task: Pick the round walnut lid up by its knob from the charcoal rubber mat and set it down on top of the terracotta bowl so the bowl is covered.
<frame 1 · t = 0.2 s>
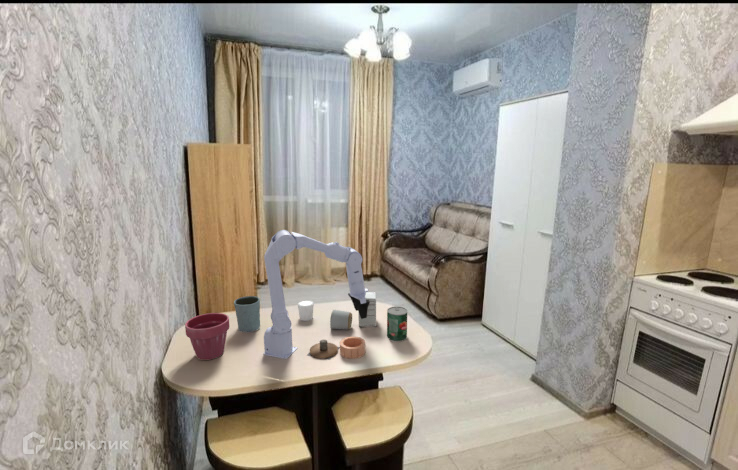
hand: (361, 313, 140), 11 cm above the table, tool pointing down, fingers open, 7 cm apart
terracotta bowl: (352, 352, 133), on the table
plant pot: (210, 354, 132), on the table
shot glass: (306, 318, 162), on the table
charcoal mat: (323, 352, 133), on the table
walnut lid: (323, 351, 133), resting on charcoal mat
canned tomato: (396, 337, 145), on the table
supplement box: (367, 323, 157), on the table
teal cup: (248, 328, 153), on the table
ceramic mug: (341, 327, 153), on the table
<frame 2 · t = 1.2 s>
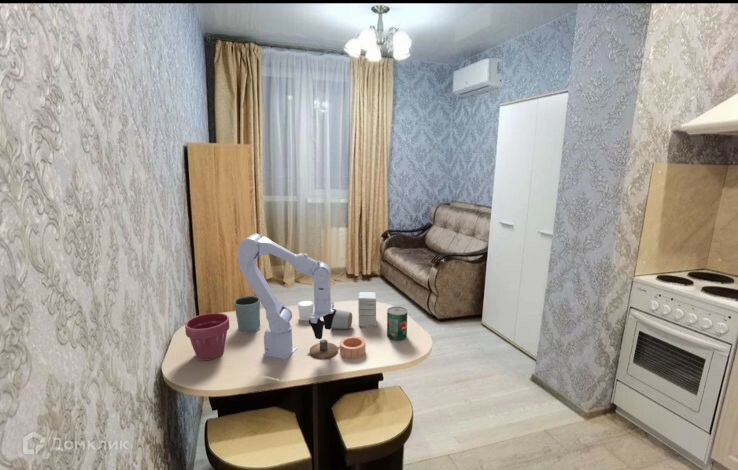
hand: (323, 333, 132), 7 cm above the table, tool pointing down, fingers open, 7 cm apart
nothing on the table moved.
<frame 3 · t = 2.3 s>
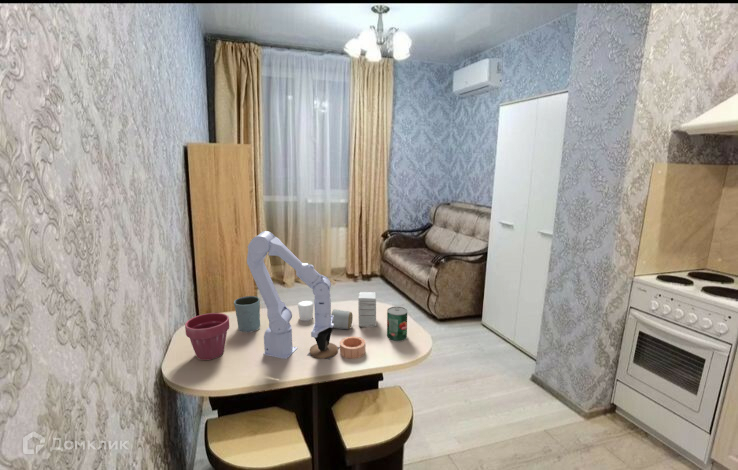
hand: (323, 347, 133), 2 cm above the table, tool pointing down, fingers closed on walnut lid, 3 cm apart
walnut lid: (323, 351, 133), resting on charcoal mat, touching gripper
everything else where it was.
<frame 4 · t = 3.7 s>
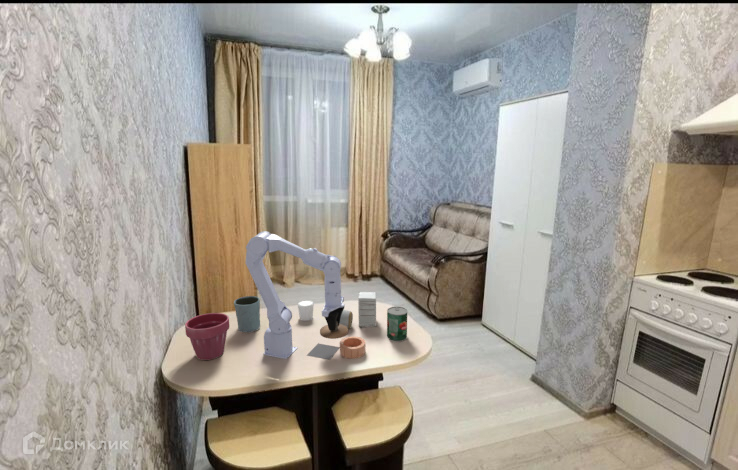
hand: (334, 327, 131), 10 cm above the table, tool pointing down, fingers closed on walnut lid, 3 cm apart
walnut lid: (334, 332, 131), point 8 cm above the table, touching gripper
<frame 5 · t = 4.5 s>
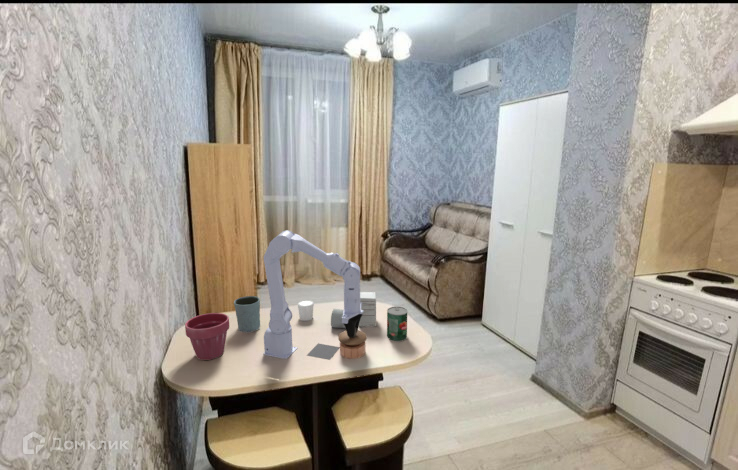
hand: (352, 334, 131), 7 cm above the table, tool pointing down, fingers closed on walnut lid, 3 cm apart
walnut lid: (352, 338, 132), point 6 cm above the table, touching gripper
when the fingers open (7 cm above the table, at t = 4.9 s): walnut lid stays where it is, resting on terracotta bowl.
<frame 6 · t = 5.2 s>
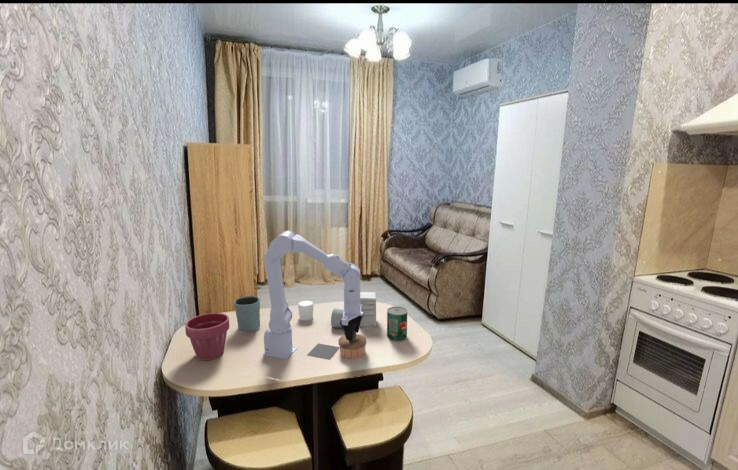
hand: (352, 335, 131), 7 cm above the table, tool pointing down, fingers open, 5 cm apart
walnut lid: (352, 342, 132), point 4 cm above the table, touching terracotta bowl
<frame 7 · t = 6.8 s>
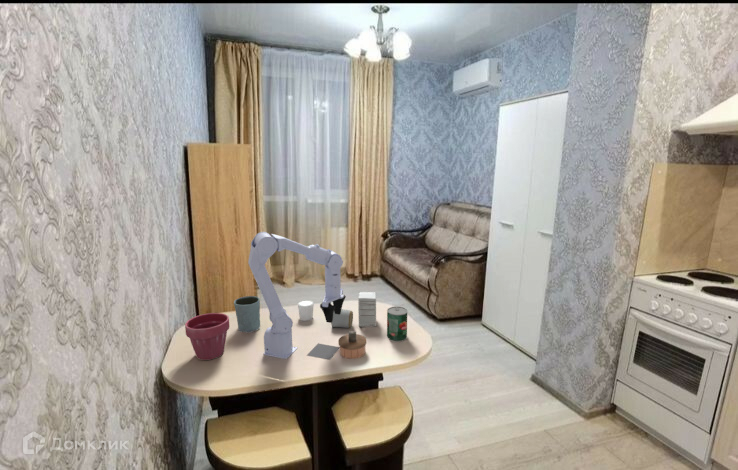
hand: (333, 317, 140), 9 cm above the table, tool pointing down, fingers open, 7 cm apart
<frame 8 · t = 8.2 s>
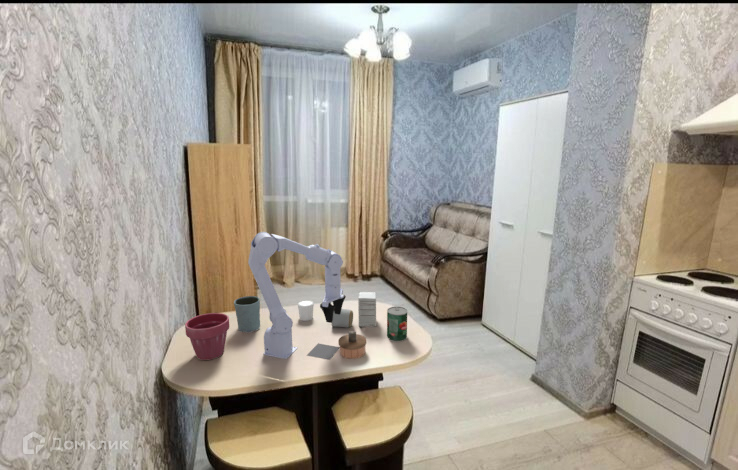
hand: (333, 317, 140), 9 cm above the table, tool pointing down, fingers open, 7 cm apart
at the end: walnut lid 0.0 cm off-centre on the terracotta bowl, point 4.0 cm above the terracotta bowl's base; walnut lid tilted 0°; the gripper is holding nothing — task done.
